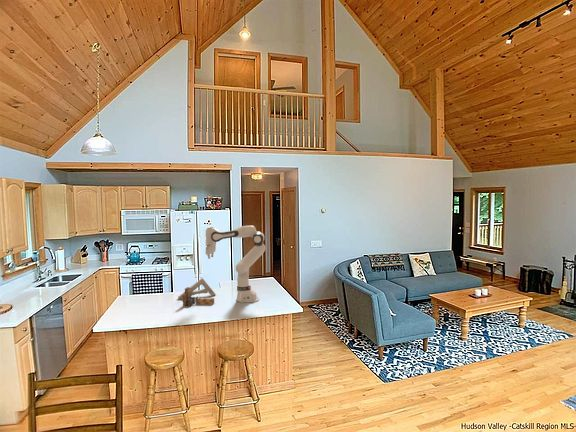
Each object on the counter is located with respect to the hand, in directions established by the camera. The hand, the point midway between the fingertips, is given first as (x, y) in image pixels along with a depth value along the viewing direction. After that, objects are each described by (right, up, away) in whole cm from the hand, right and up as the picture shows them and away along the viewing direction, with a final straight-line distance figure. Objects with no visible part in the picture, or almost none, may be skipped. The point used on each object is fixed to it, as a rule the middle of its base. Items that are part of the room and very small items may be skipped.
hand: (210, 257), depth 325 cm
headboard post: (-18, -44, -10) cm, 48 cm away
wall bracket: (-17, -43, +14) cm, 48 cm away
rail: (-3, -43, -8) cm, 44 cm away
